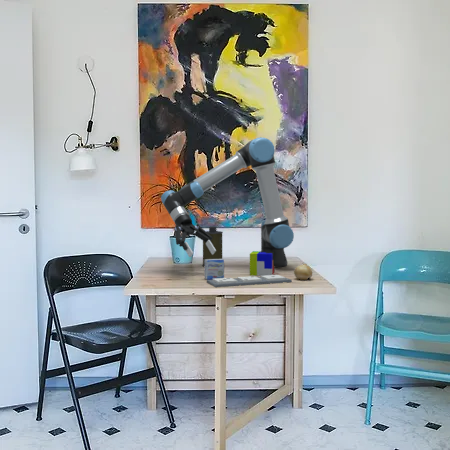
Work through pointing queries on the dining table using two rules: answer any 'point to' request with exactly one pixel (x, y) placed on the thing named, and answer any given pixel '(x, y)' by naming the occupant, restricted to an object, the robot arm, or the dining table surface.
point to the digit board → (248, 280)
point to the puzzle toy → (261, 263)
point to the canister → (216, 243)
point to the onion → (303, 272)
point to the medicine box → (214, 268)
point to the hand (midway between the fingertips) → (203, 253)
